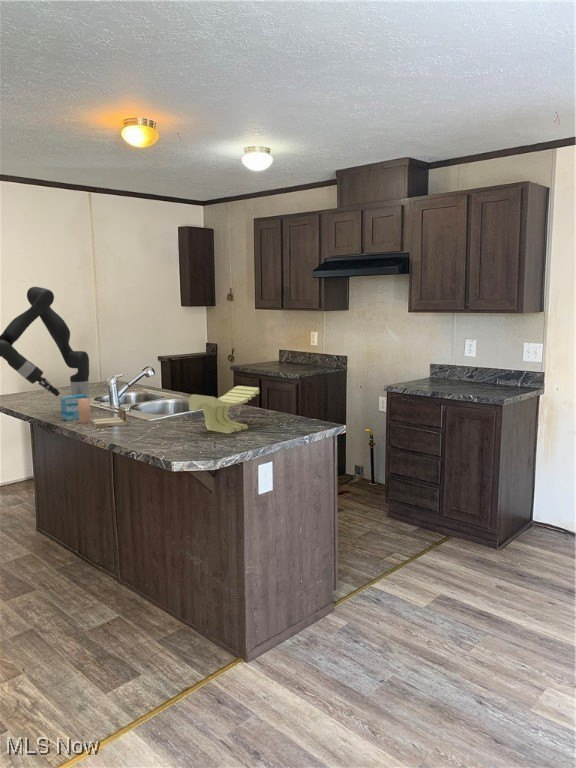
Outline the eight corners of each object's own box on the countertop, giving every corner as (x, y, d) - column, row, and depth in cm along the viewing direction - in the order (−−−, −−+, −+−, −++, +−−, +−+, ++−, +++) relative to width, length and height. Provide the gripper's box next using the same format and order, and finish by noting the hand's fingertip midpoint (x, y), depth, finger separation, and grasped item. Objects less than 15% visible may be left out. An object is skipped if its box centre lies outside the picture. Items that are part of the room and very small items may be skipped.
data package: (65, 421, 295) (63, 397, 293) (62, 420, 298) (60, 396, 296) (88, 417, 303) (87, 394, 301) (84, 416, 306) (83, 393, 304)
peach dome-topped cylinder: (78, 422, 291) (77, 398, 290) (89, 421, 294) (88, 397, 292) (80, 424, 287) (78, 400, 285) (91, 423, 289) (89, 399, 287)
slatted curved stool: (234, 421, 289) (233, 385, 286) (259, 424, 279) (259, 387, 276) (190, 432, 265) (188, 393, 262) (215, 437, 255) (214, 396, 253)
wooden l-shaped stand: (92, 423, 288) (91, 409, 287) (121, 420, 294) (120, 406, 293) (96, 428, 277) (95, 413, 276) (126, 425, 283) (125, 410, 282)
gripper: (36, 367, 271) (64, 389, 277) (34, 364, 283) (61, 385, 290) (24, 379, 269) (53, 401, 276) (23, 376, 282) (51, 397, 288)
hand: (57, 393), depth 283 cm, fingers open, 8 cm apart
